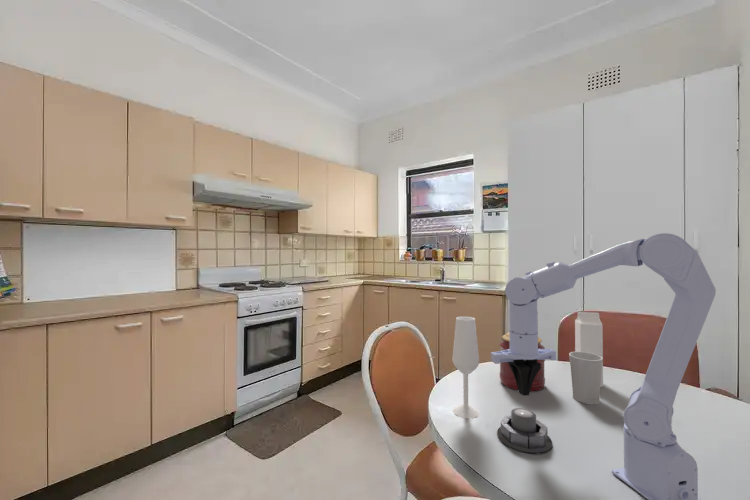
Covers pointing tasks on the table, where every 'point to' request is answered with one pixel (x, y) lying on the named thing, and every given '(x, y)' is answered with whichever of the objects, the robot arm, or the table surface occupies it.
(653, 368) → the robot arm
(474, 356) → the champagne flute
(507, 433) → the socket
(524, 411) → the cap
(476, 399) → the table surface
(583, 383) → the cup
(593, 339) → the milk
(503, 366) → the canister
